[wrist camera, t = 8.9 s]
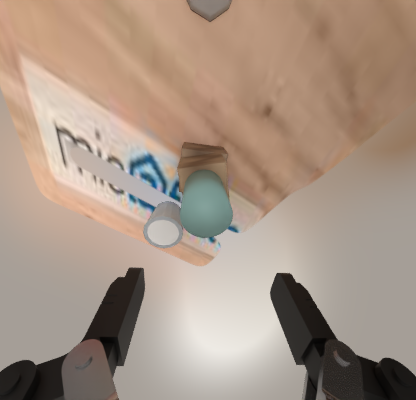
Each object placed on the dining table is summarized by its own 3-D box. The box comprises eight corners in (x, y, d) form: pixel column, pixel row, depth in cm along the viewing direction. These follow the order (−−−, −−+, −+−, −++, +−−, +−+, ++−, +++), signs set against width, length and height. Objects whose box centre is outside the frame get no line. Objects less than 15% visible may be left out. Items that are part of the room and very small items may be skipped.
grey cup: (158, 193, 37) (150, 210, 30) (190, 206, 38) (189, 225, 32) (147, 220, 39) (137, 241, 33) (177, 231, 41) (174, 253, 35)
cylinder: (226, 171, 23) (237, 194, 17) (220, 206, 25) (228, 239, 19) (185, 167, 23) (181, 189, 16) (183, 203, 25) (178, 235, 18)
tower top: (220, 152, 28) (226, 162, 22) (223, 188, 31) (229, 205, 25) (180, 157, 28) (177, 168, 23) (187, 193, 31) (186, 211, 25)
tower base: (223, 147, 33) (228, 154, 28) (217, 183, 36) (220, 195, 31) (184, 142, 33) (181, 148, 27) (181, 179, 36) (178, 191, 30)
